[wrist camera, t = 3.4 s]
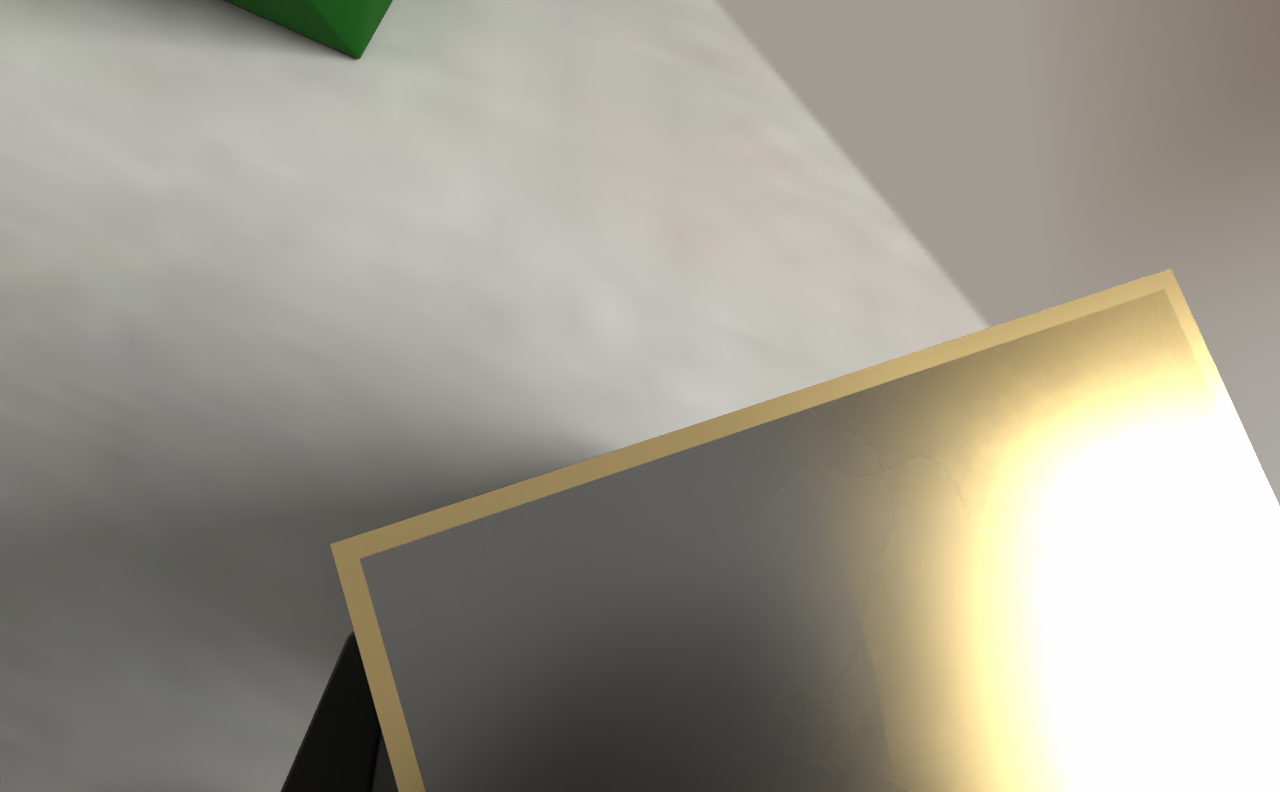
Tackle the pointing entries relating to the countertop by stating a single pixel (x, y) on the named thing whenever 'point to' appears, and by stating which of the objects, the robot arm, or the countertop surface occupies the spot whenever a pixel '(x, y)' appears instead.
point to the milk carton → (325, 19)
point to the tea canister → (862, 587)
